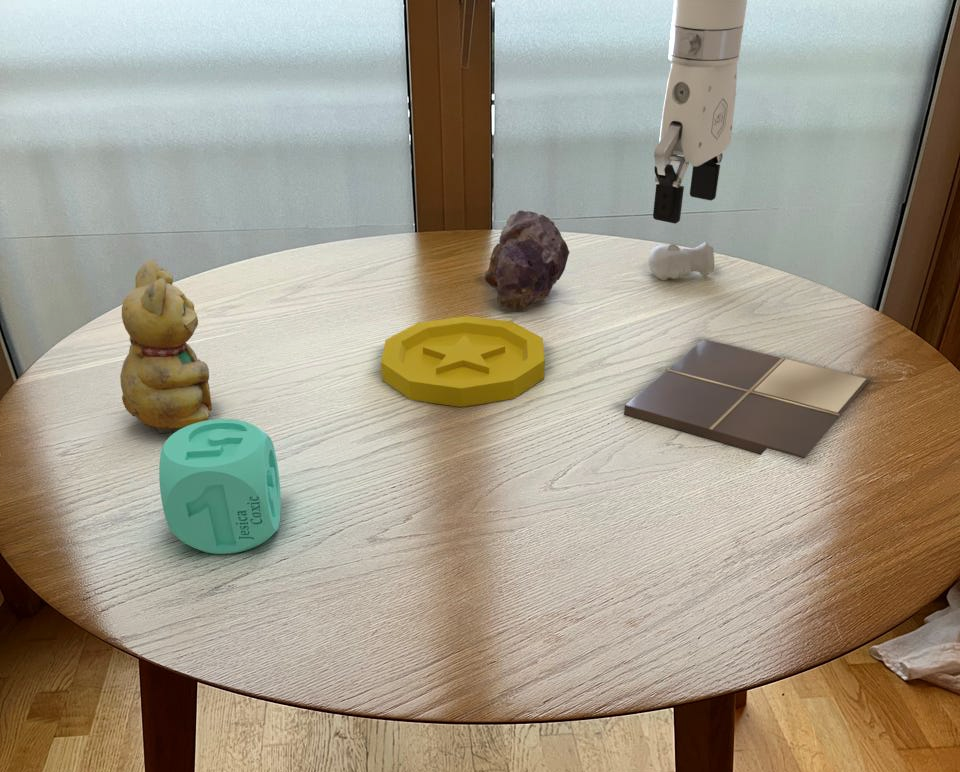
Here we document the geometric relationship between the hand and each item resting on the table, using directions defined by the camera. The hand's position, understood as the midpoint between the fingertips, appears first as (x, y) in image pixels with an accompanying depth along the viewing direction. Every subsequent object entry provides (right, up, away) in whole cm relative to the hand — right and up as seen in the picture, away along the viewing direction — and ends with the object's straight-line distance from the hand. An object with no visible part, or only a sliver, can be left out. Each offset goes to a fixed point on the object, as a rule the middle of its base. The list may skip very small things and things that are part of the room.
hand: (684, 209), depth 118 cm
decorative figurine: (-54, -30, -21) cm, 65 cm away
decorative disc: (-26, -23, -13) cm, 37 cm away
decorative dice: (-45, -42, -35) cm, 71 cm away
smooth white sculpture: (0, -6, +5) cm, 8 cm away
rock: (-19, -10, +2) cm, 21 cm away
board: (+2, -28, -20) cm, 34 cm away
